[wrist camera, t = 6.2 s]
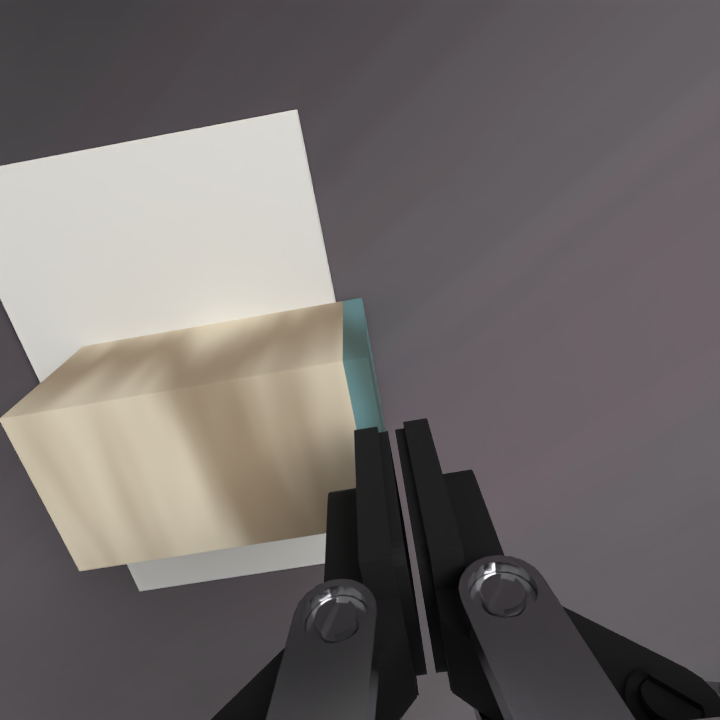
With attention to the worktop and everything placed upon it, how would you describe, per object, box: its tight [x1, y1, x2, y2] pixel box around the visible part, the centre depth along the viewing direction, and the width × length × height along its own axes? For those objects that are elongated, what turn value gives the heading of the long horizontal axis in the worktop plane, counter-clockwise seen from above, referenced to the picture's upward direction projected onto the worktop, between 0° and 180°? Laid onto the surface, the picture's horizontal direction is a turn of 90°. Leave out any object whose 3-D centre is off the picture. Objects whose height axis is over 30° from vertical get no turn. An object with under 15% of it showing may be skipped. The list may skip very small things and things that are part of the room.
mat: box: [0, 110, 336, 591], centre depth 18 cm, size 10×16×1 cm, turn 10°
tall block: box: [0, 298, 386, 571], centre depth 16 cm, size 4×5×9 cm
